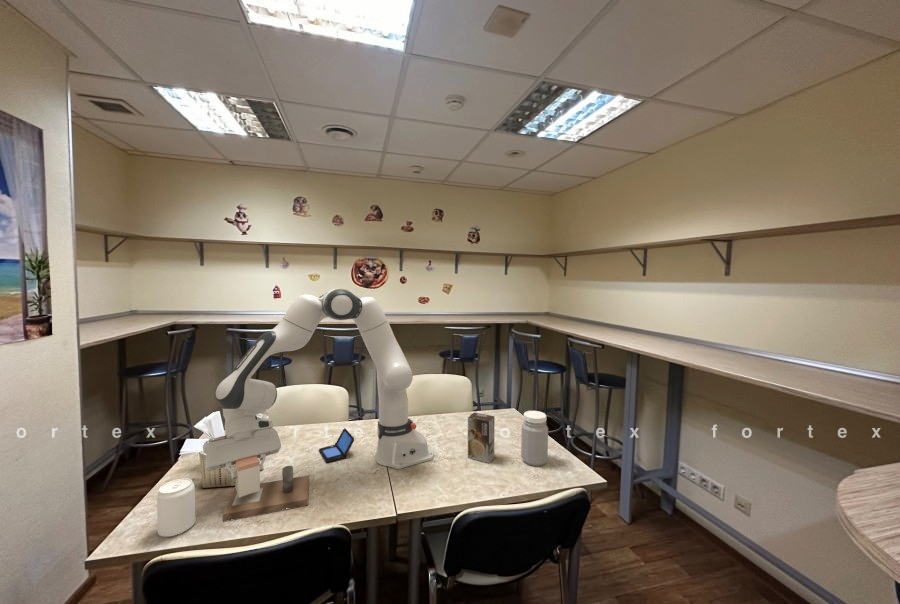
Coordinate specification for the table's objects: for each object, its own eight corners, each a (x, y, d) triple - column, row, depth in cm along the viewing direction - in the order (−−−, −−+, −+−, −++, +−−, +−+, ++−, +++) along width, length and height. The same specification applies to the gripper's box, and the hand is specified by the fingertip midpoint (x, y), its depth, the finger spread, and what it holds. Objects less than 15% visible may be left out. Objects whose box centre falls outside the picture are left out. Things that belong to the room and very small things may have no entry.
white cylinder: (151, 541, 91) (149, 496, 90) (167, 521, 99) (165, 479, 98) (187, 535, 93) (186, 491, 92) (200, 516, 101) (199, 475, 100)
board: (309, 480, 119) (309, 455, 119) (307, 505, 106) (307, 476, 106) (234, 493, 112) (234, 465, 111) (223, 521, 99) (222, 490, 98)
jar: (548, 468, 128) (549, 420, 127) (521, 465, 130) (521, 417, 129) (546, 455, 138) (547, 410, 137) (521, 453, 140) (521, 408, 139)
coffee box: (495, 456, 137) (495, 416, 136) (489, 463, 131) (489, 421, 131) (473, 451, 141) (474, 411, 141) (466, 458, 136) (467, 417, 135)
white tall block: (256, 482, 111) (255, 454, 110) (260, 490, 106) (259, 461, 106) (235, 488, 107) (235, 459, 107) (238, 497, 103) (238, 467, 102)
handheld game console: (318, 451, 141) (317, 433, 141) (345, 444, 147) (344, 427, 147) (326, 464, 131) (326, 445, 130) (355, 457, 137) (354, 438, 136)
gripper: (202, 436, 105) (206, 482, 98) (277, 420, 118) (285, 460, 110) (201, 445, 108) (205, 490, 101) (274, 428, 121) (282, 468, 114)
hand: (247, 474), depth 106 cm, fingers closed on white tall block, 6 cm apart
